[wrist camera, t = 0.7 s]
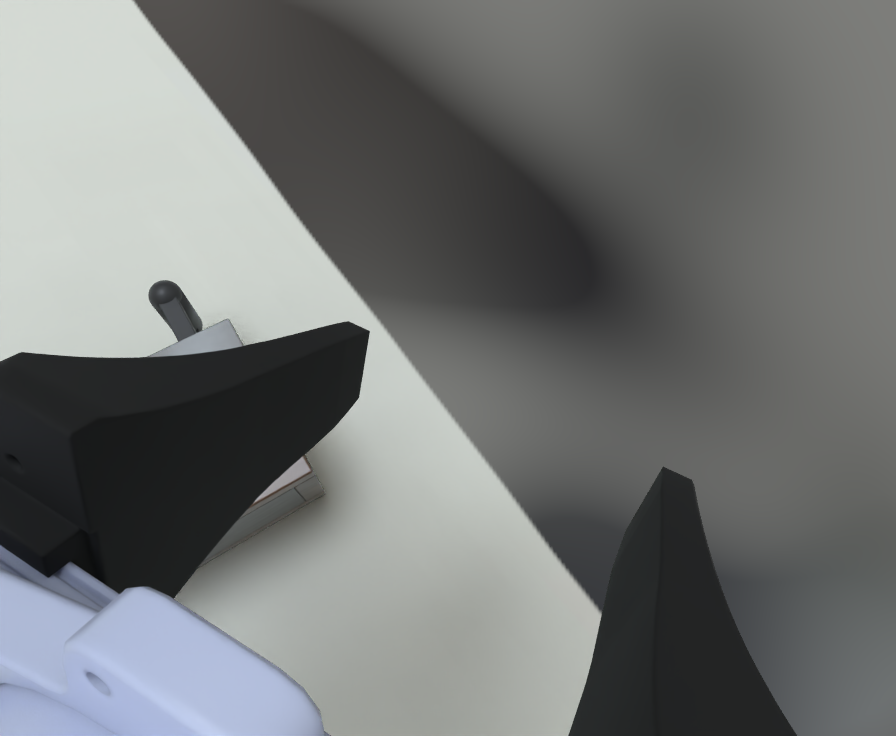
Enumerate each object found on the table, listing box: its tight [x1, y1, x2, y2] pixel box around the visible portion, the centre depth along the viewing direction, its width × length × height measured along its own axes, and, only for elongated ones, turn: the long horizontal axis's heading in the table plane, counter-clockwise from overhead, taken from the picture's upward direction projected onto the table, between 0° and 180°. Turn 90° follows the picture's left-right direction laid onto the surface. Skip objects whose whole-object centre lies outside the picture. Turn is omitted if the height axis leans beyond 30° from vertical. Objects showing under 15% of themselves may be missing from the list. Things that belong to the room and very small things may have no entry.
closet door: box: [149, 280, 202, 342], centre depth 28 cm, size 7×5×6 cm
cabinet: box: [148, 319, 325, 568], centre depth 27 cm, size 13×8×7 cm, turn 122°
